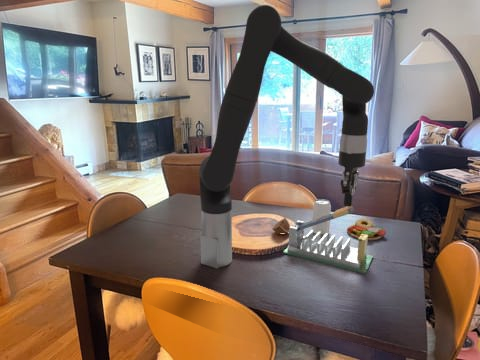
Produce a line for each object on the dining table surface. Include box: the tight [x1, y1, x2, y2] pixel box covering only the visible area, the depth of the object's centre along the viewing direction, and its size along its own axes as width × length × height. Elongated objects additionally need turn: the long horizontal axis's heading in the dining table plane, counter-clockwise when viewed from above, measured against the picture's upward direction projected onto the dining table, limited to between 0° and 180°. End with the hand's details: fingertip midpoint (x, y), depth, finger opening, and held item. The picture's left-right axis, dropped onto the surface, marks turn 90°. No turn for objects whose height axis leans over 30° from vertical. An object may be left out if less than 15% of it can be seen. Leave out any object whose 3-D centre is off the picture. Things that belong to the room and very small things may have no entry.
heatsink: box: [282, 220, 374, 275], centre depth 114 cm, size 26×12×9 cm, turn 60°
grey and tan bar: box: [293, 205, 355, 231], centre depth 113 cm, size 21×4×2 cm, turn 59°
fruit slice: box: [271, 217, 291, 234], centre depth 131 cm, size 8×7×5 cm
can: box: [311, 198, 332, 236], centre depth 131 cm, size 6×6×12 cm
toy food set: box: [346, 218, 387, 241], centre depth 131 cm, size 13×13×3 cm
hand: (347, 205), depth 108 cm, fingers closed
